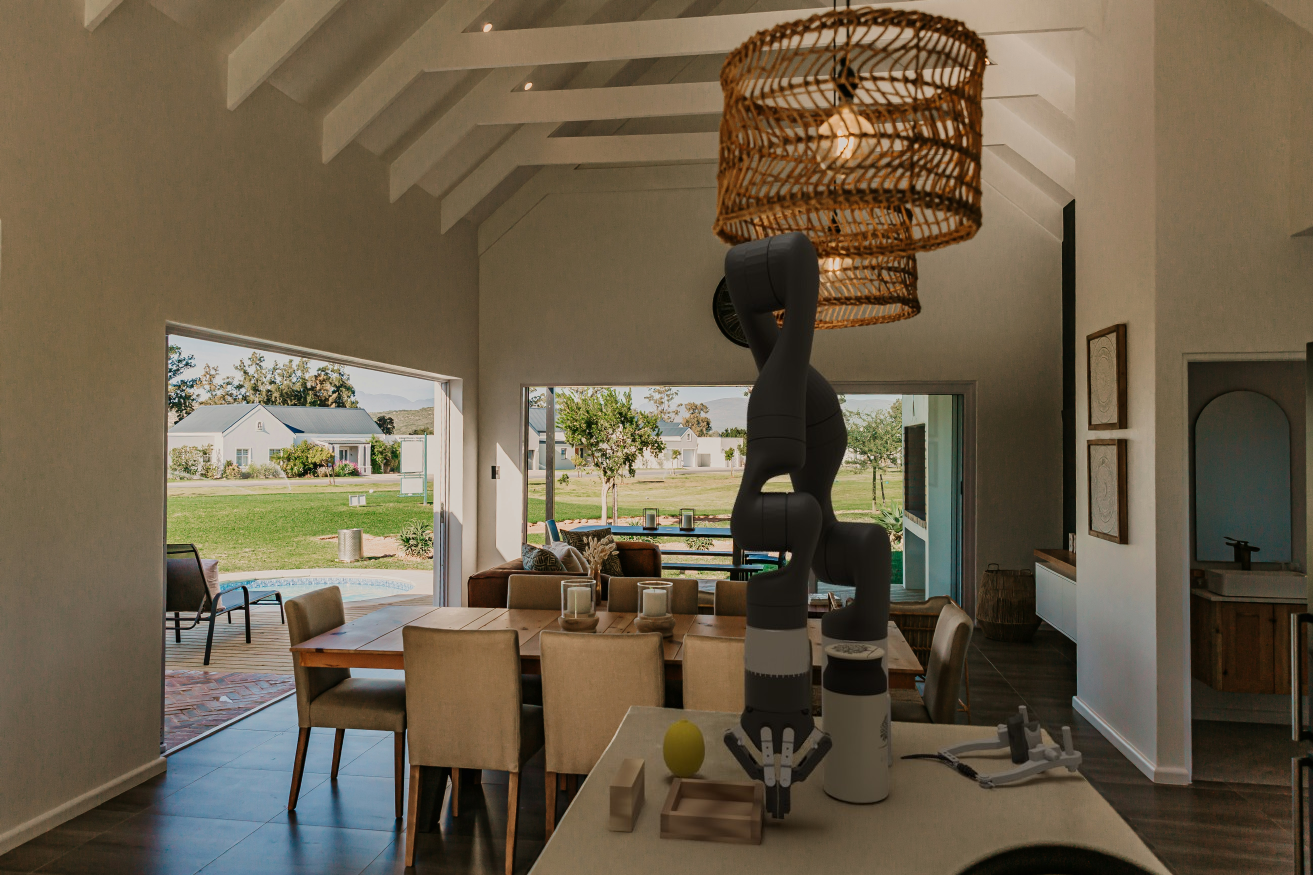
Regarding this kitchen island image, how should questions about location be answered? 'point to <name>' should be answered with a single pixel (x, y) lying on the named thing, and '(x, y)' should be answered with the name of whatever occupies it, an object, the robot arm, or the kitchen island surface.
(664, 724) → the kitchen island surface
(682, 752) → the lemon
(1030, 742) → the bike brake
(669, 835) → the walnut tray
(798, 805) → the kitchen island surface
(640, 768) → the oak stop
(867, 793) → the travel mug
